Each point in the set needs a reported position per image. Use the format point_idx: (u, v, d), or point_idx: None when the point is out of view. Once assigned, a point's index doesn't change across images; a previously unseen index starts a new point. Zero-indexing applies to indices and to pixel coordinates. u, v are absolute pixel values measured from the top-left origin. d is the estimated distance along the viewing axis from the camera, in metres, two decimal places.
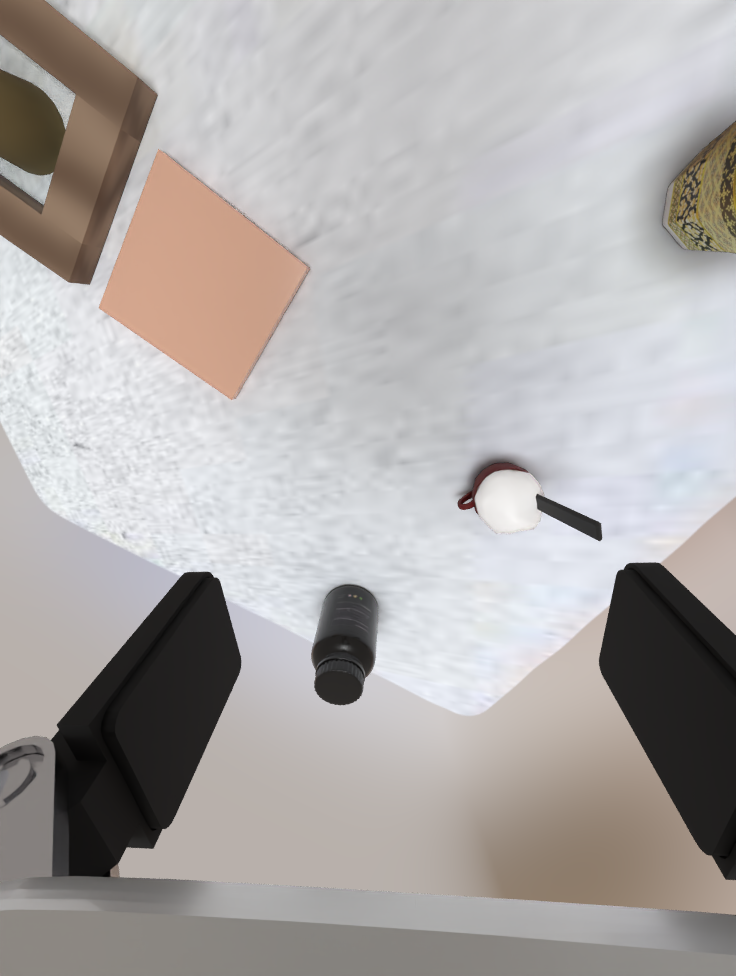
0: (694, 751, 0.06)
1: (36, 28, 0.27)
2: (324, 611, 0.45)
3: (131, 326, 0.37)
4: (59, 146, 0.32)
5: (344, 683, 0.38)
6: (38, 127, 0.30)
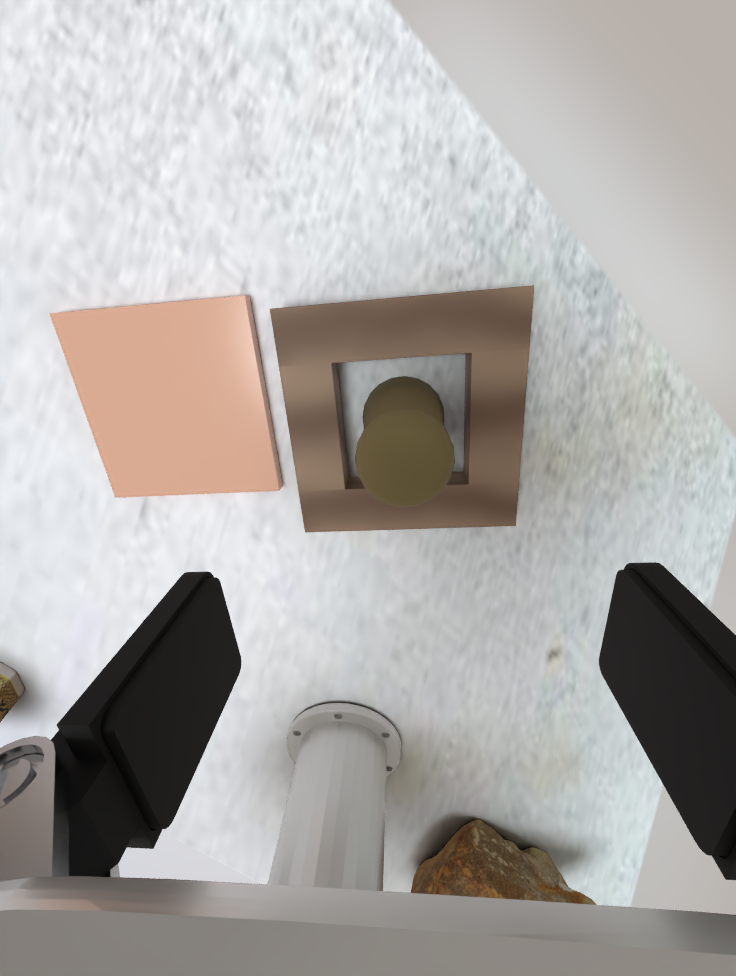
0: (693, 751, 0.06)
1: (393, 509, 0.30)
2: None
3: (200, 305, 0.26)
4: (364, 428, 0.29)
5: None
6: None
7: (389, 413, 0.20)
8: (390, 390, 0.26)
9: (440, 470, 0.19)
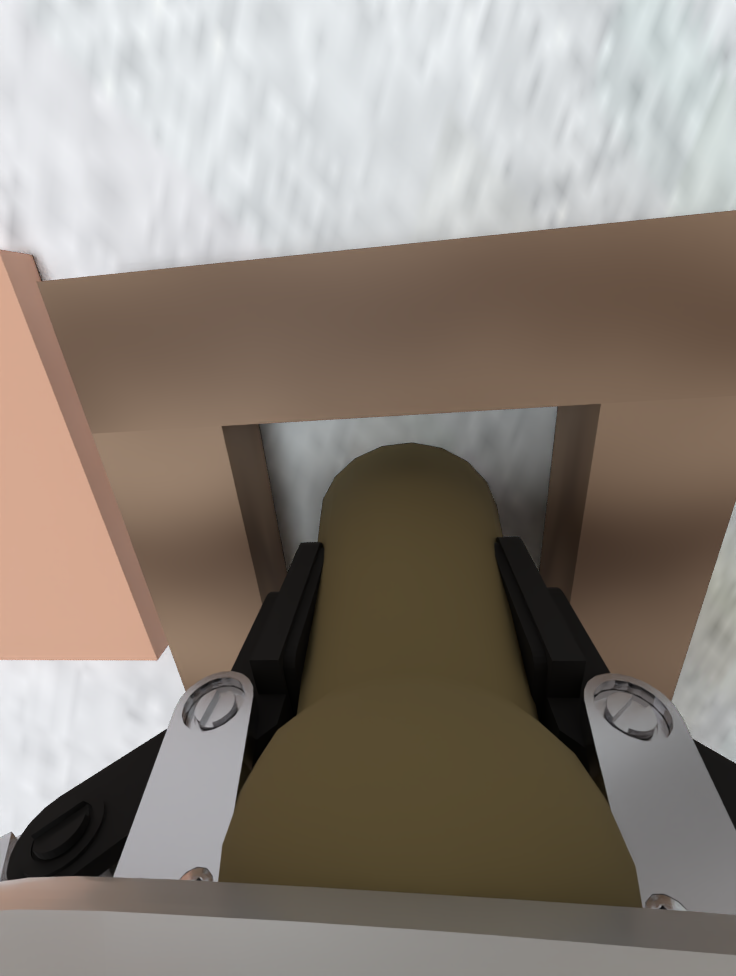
0: None
1: None
2: None
3: None
4: None
5: None
6: None
7: (347, 785, 0.04)
8: (376, 496, 0.10)
9: None
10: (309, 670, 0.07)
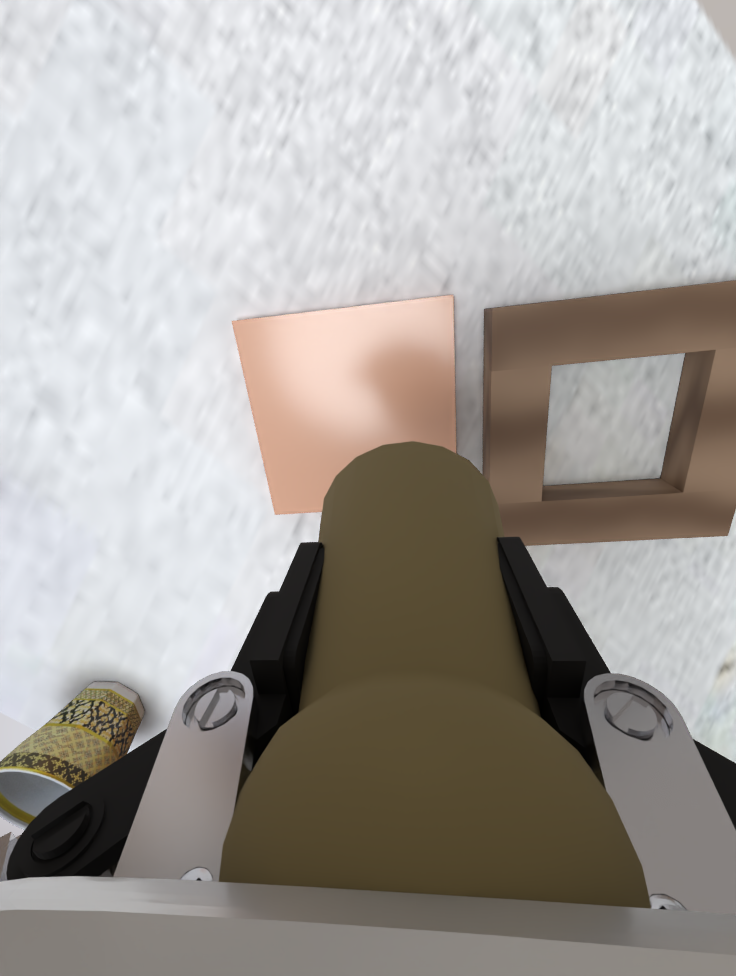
0: None
1: (592, 521, 0.27)
2: None
3: (401, 306, 0.24)
4: None
5: None
6: None
7: (350, 781, 0.04)
8: (377, 494, 0.10)
9: None
10: (311, 668, 0.07)
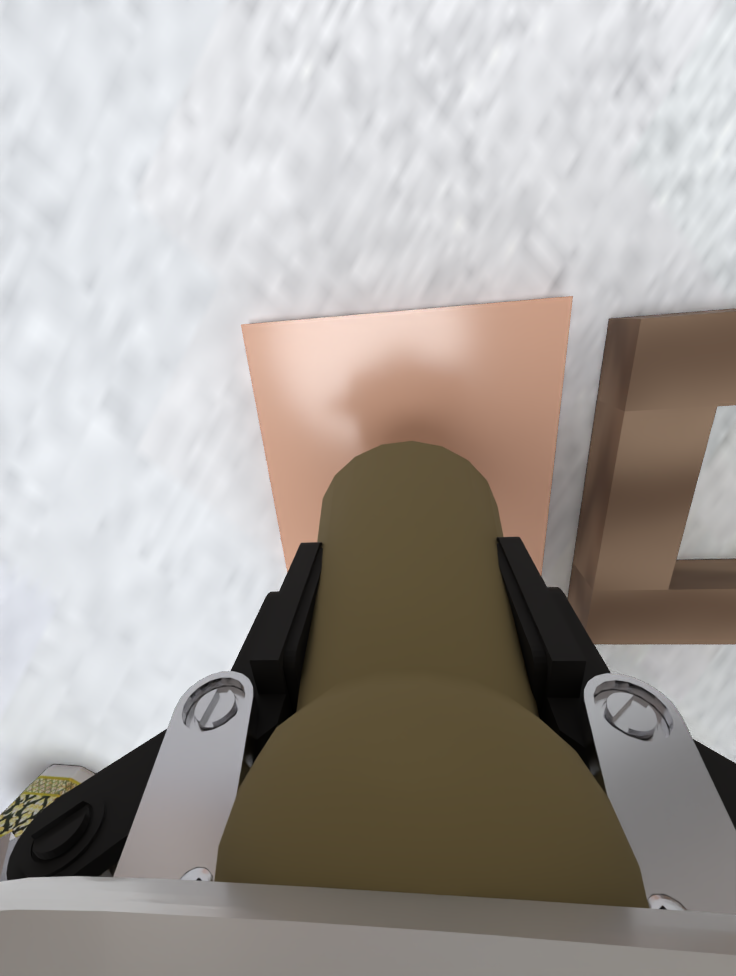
0: None
1: None
2: None
3: (493, 312, 0.16)
4: None
5: None
6: None
7: (346, 781, 0.04)
8: (376, 493, 0.10)
9: None
10: (309, 668, 0.07)
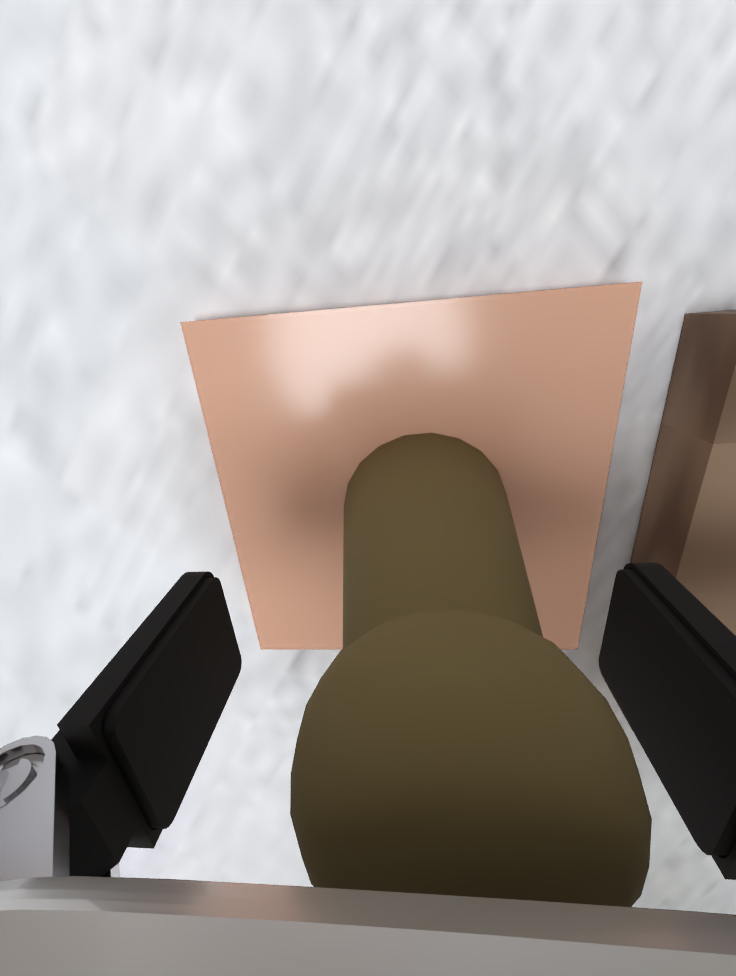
0: (693, 751, 0.06)
1: None
2: None
3: (527, 304, 0.12)
4: None
5: None
6: None
7: (414, 669, 0.05)
8: (403, 476, 0.11)
9: None
10: (356, 614, 0.08)
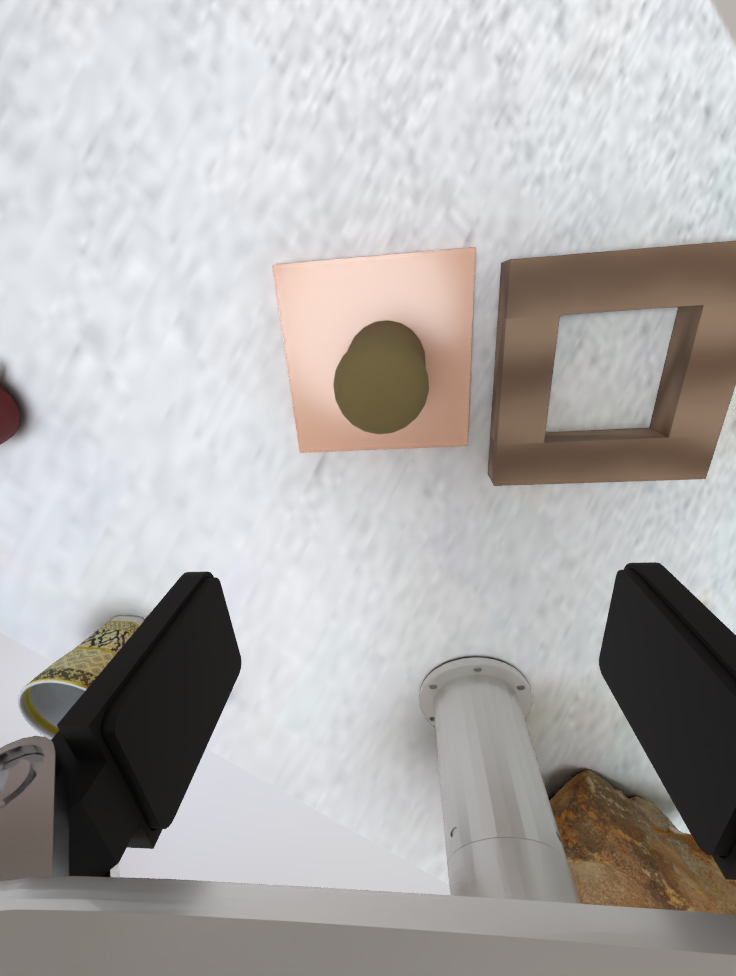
0: (694, 751, 0.06)
1: (588, 462, 0.31)
2: None
3: (428, 257, 0.27)
4: None
5: None
6: None
7: (367, 339, 0.20)
8: (372, 330, 0.26)
9: (414, 394, 0.20)
10: None
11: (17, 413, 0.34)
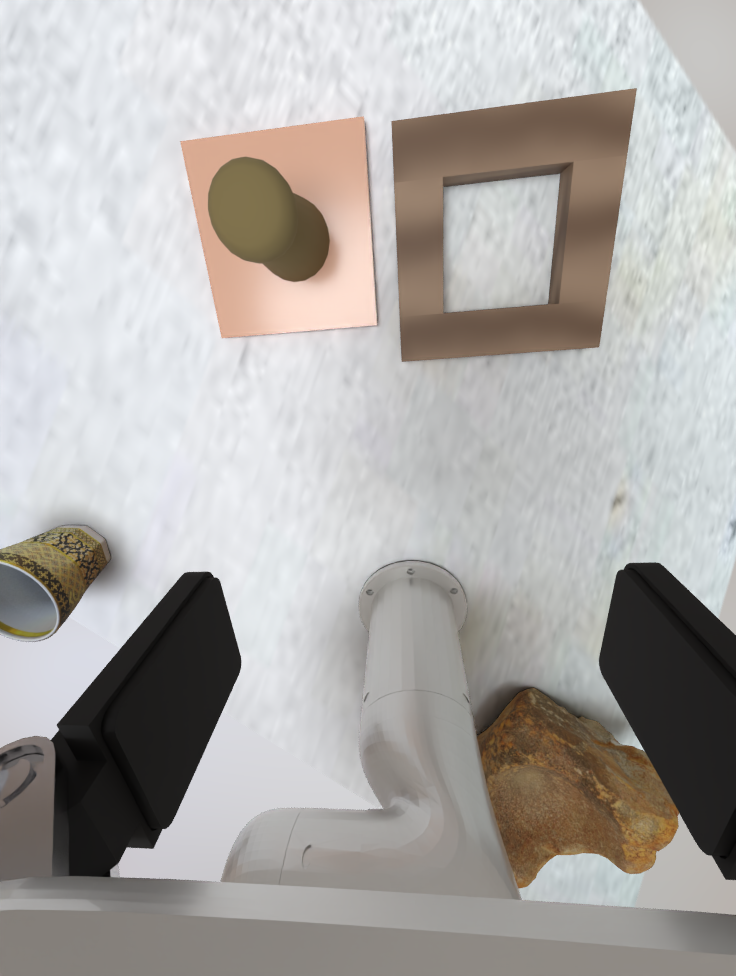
0: (694, 751, 0.06)
1: (486, 333, 0.32)
2: None
3: (321, 128, 0.29)
4: None
5: None
6: None
7: None
8: None
9: (275, 208, 0.22)
10: None
11: None
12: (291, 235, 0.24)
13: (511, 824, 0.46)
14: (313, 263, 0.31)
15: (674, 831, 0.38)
